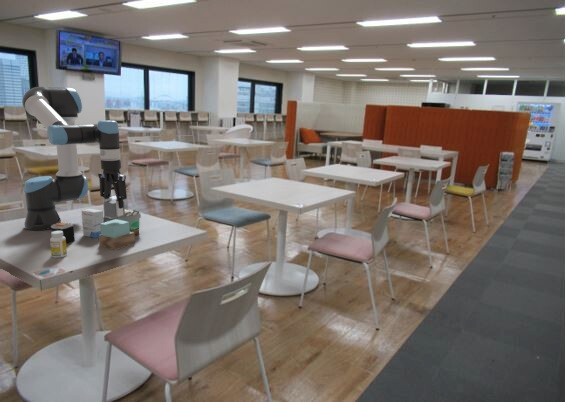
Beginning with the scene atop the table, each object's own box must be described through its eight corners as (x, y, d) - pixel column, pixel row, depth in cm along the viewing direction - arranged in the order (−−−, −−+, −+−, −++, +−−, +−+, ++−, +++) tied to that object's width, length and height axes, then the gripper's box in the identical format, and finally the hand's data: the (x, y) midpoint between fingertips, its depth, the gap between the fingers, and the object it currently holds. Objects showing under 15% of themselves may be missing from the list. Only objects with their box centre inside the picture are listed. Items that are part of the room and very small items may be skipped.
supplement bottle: (55, 259, 156) (52, 235, 154) (49, 255, 159) (46, 232, 157) (69, 255, 160) (67, 232, 158) (63, 252, 163) (61, 229, 161)
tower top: (101, 235, 170) (100, 223, 169) (116, 230, 177) (115, 219, 176) (114, 238, 167) (113, 226, 166) (129, 233, 174) (129, 221, 172)
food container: (132, 239, 180) (131, 217, 178) (119, 238, 181) (118, 216, 179) (147, 231, 192) (145, 210, 189) (135, 230, 193) (133, 209, 191)
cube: (104, 216, 169) (103, 201, 168) (115, 213, 174) (114, 199, 173) (114, 217, 167) (113, 203, 165) (124, 214, 171) (123, 201, 170)
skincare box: (111, 219, 209) (109, 199, 206) (103, 217, 212) (102, 197, 210) (128, 215, 217) (127, 196, 215) (121, 213, 221) (119, 194, 218)
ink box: (105, 235, 184) (103, 210, 182) (96, 238, 180) (94, 212, 177) (92, 232, 188) (89, 207, 185) (82, 235, 184) (80, 210, 181)
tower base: (99, 246, 172) (98, 234, 170) (118, 239, 180) (118, 228, 179) (116, 250, 167) (115, 239, 166) (135, 243, 176) (134, 232, 175)
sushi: (63, 245, 170) (61, 227, 168) (48, 242, 173) (46, 224, 171) (78, 239, 178) (77, 222, 176) (64, 237, 180) (62, 220, 179)
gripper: (87, 158, 166) (92, 213, 171) (119, 162, 158) (123, 219, 163) (102, 156, 172) (107, 209, 178) (134, 160, 164) (137, 215, 169)
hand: (114, 214), depth 170 cm, fingers closed on cube, 5 cm apart
